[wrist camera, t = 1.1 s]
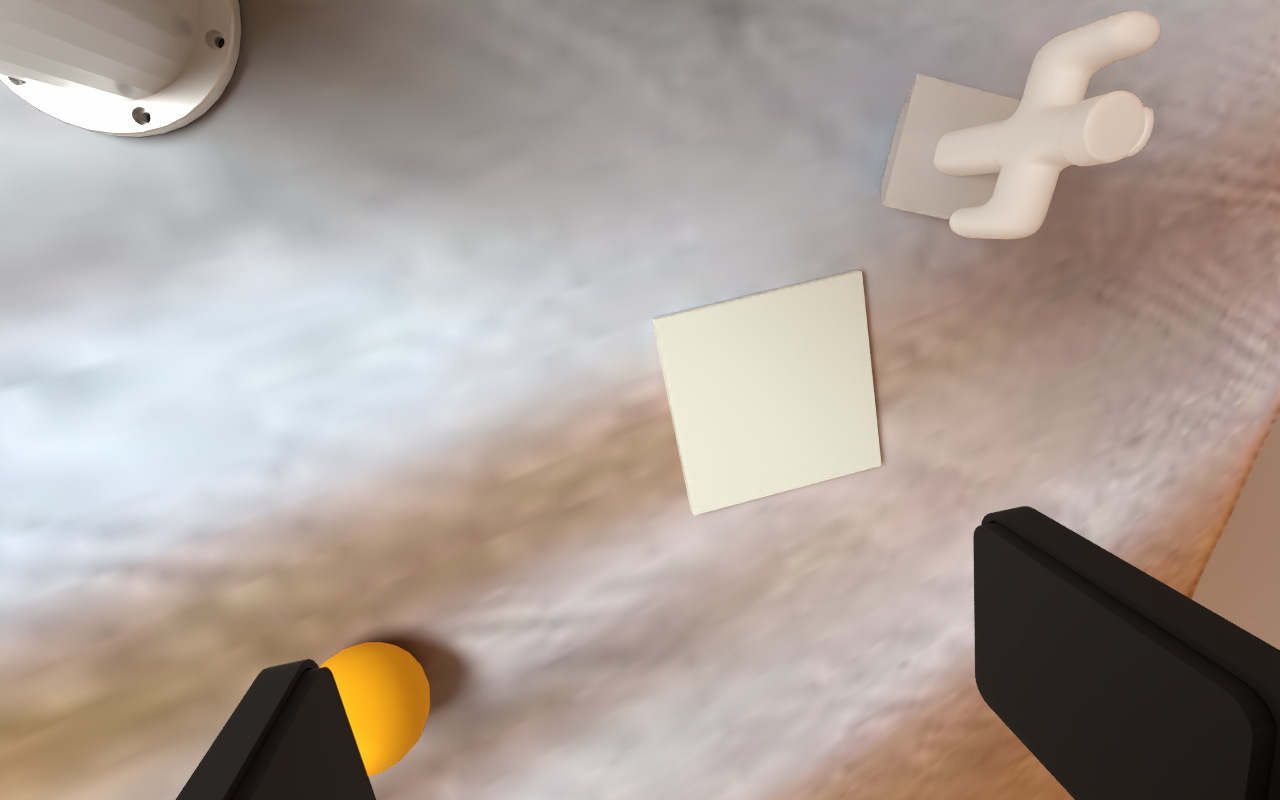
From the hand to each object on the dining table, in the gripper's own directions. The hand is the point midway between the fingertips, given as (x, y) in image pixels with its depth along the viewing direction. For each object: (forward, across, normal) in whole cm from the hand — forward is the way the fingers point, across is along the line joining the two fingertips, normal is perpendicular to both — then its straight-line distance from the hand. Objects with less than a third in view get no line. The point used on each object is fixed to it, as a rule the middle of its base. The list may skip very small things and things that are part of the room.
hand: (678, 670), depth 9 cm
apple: (+33, +18, +21) cm, 43 cm away
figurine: (+33, -23, -7) cm, 41 cm away
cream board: (+33, -12, +7) cm, 36 cm away
